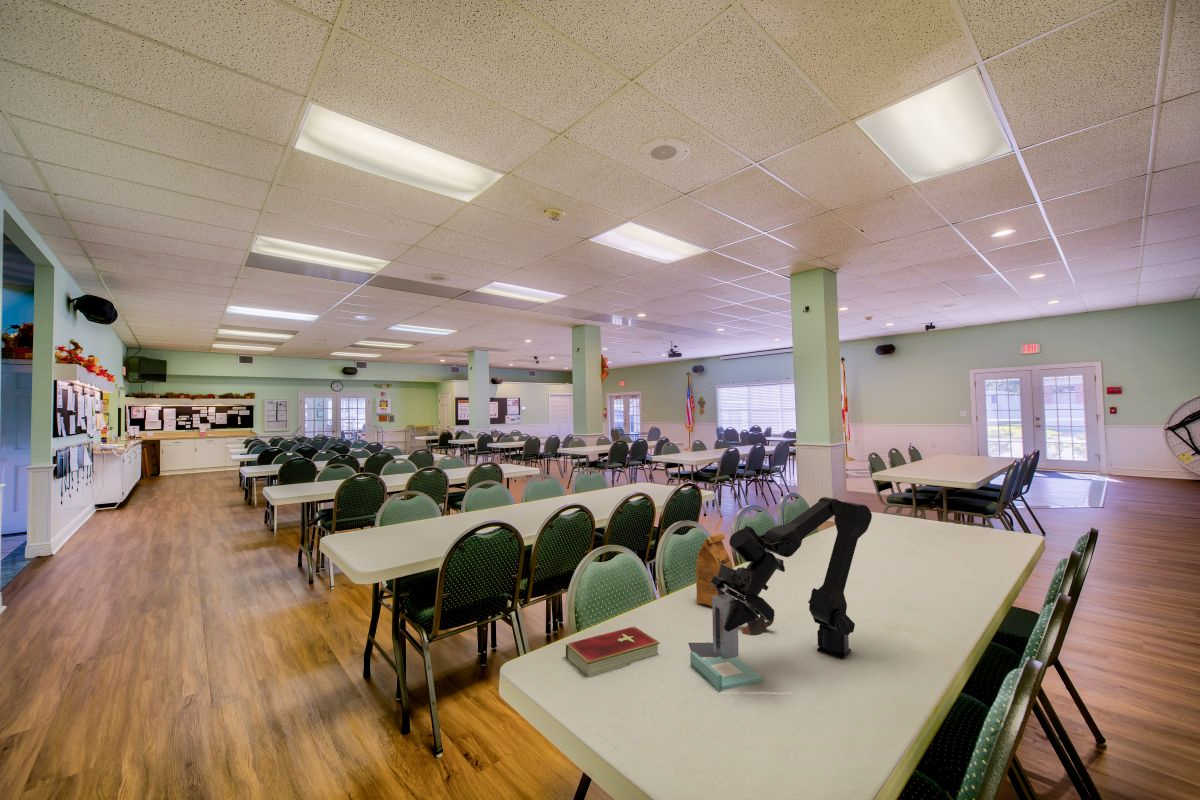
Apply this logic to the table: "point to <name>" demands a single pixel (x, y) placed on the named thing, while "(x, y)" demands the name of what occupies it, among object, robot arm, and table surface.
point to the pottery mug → (756, 626)
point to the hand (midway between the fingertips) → (720, 626)
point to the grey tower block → (721, 615)
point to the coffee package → (710, 567)
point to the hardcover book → (611, 650)
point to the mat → (703, 649)
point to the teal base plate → (724, 671)
